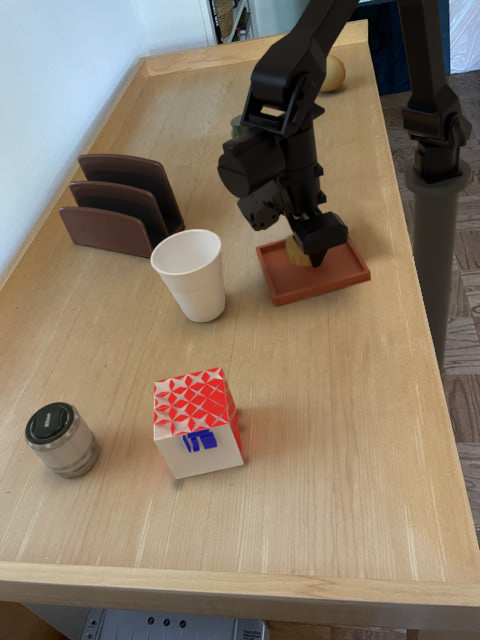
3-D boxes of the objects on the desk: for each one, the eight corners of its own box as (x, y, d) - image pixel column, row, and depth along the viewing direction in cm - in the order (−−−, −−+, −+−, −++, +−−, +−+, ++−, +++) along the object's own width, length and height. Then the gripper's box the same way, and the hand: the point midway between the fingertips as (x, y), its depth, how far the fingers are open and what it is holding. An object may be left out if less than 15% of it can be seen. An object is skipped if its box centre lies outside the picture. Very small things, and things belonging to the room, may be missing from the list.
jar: (264, 160, 108) (254, 109, 101) (270, 172, 104) (260, 120, 97) (237, 167, 108) (226, 117, 101) (242, 180, 104) (231, 129, 97)
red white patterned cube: (236, 408, 65) (222, 366, 60) (244, 464, 59) (229, 423, 54) (173, 422, 65) (153, 382, 60) (175, 479, 60) (152, 440, 54)
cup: (162, 328, 78) (137, 270, 71) (190, 284, 84) (170, 226, 77) (222, 338, 74) (203, 278, 67) (248, 290, 80) (233, 230, 73)
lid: (280, 261, 80) (277, 249, 78) (300, 237, 83) (298, 225, 81) (316, 270, 76) (314, 257, 75) (335, 245, 80) (334, 233, 78)
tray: (341, 231, 86) (341, 223, 85) (371, 280, 77) (370, 271, 75) (256, 255, 86) (255, 247, 85) (275, 307, 77) (273, 298, 76)
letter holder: (105, 214, 106) (76, 148, 96) (186, 226, 96) (163, 155, 87) (72, 244, 100) (38, 177, 91) (155, 260, 91) (127, 188, 81)
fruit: (313, 87, 130) (309, 52, 124) (347, 82, 128) (345, 47, 122) (309, 100, 125) (305, 65, 119) (345, 96, 122) (343, 59, 117)
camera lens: (102, 430, 67) (76, 391, 62) (100, 473, 62) (72, 436, 57) (54, 442, 67) (24, 405, 62) (48, 487, 62) (16, 450, 57)
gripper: (219, 150, 76) (241, 239, 86) (257, 214, 62) (277, 311, 73) (293, 126, 76) (305, 218, 87) (346, 184, 63) (354, 284, 73)
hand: (308, 255), depth 80 cm, fingers closed on lid, 6 cm apart
